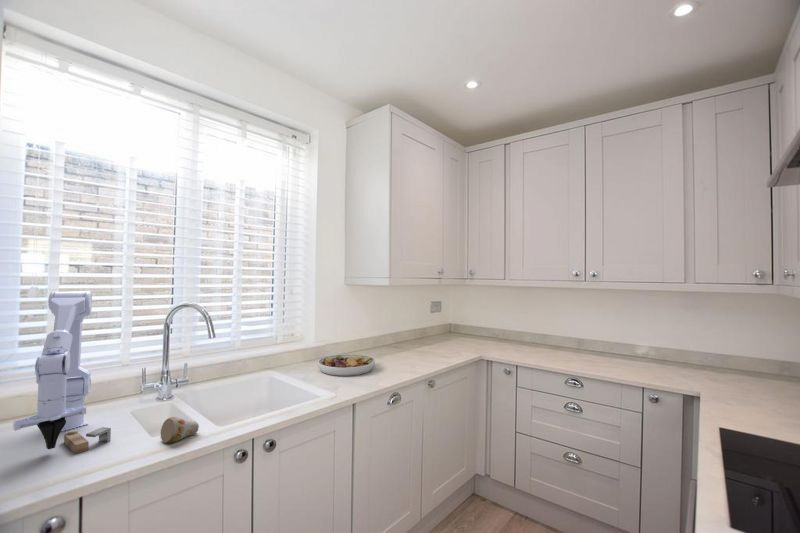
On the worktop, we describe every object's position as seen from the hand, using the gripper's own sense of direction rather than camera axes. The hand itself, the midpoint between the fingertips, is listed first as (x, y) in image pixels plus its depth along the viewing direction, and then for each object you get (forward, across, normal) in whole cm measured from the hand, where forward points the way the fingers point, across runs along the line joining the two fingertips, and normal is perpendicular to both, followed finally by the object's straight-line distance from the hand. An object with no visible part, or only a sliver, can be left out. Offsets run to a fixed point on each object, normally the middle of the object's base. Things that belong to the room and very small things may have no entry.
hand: (50, 447), depth 102 cm
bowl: (+2, +115, -1) cm, 115 cm away
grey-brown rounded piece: (+2, +26, -17) cm, 31 cm away
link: (+2, +5, 0) cm, 6 cm away
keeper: (+2, +10, -3) cm, 10 cm away
